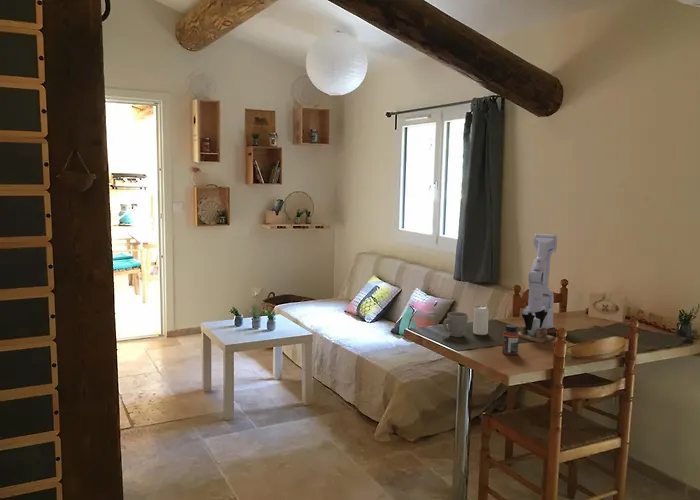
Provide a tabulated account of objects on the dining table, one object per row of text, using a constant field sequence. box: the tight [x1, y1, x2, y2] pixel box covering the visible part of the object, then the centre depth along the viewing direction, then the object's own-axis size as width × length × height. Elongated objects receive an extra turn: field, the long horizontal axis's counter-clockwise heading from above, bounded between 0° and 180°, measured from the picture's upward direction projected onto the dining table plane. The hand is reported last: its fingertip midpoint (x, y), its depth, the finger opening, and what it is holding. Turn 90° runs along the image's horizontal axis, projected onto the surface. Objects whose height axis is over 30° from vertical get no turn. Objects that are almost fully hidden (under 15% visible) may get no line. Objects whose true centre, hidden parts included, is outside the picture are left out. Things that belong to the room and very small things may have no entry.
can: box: [472, 305, 490, 336], centre depth 269 cm, size 6×6×12 cm
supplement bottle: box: [502, 324, 520, 356], centre depth 239 cm, size 6×6×11 cm
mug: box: [442, 311, 469, 338], centre depth 264 cm, size 12×9×10 cm
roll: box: [527, 318, 540, 336], centre depth 264 cm, size 5×5×7 cm
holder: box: [518, 324, 555, 344], centre depth 265 cm, size 10×14×5 cm
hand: (533, 328), depth 264 cm, fingers open, 7 cm apart
